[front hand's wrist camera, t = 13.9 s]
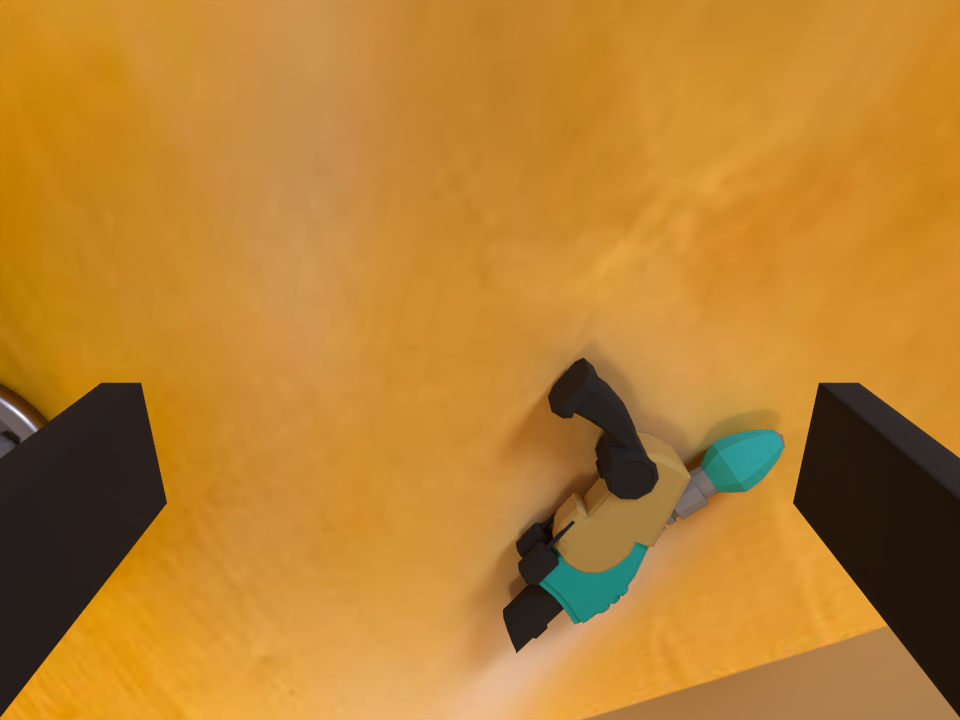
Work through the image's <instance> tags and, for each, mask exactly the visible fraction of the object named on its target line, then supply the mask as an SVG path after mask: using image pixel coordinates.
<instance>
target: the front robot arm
mask: <svg viewBox="0 0 960 720" xmlns="http://www.w3.org/2000/svg"><path fill="white" fill-rule="evenodd" d="M166 504H167V501H166V496H165V492H164V487H163V483H162V478H161V473H160V469H159V464H158V459H157V455H156V450H155V445H154V441H153V436H152V432H151V427H150V422H149V418H148V413H147V408H146V404H145V399H144V395H143V390H142V385H141V383H101V384H99V385H98V386H97V387H95V388H94V389H92V390H91V391H90V392H88V393H87V394H86V395H84V396H83V397H82V398H80V399H79V400H78V401H76V402H75V403H74V404H72V405H71V406H70V407H68V408H67V409H66V410H64V411H63V412H62V413H60V414H59V415H58V416H56V417H55V418H54V419H52V420H51V421H50V422H48V421H47V420H46V419H45V417H44V416H43V415H42V414H41V413H40V412H39V411H38V410H37V409H36V408H35V407H33V406H32V405H31V404H30V403H29V402H28V401H26V400H25V399H24V398H22V397H21V396H19V395H18V394H17V393H15V392H13V391H12V390H10V389H9V388H7V387H5V386H3V385H1V384H0V717H1V716H2V714H3V713H4V712H5V711H6V709H7V708H8V707H9V705H10V704H11V703H12V702H13V700H14V699H15V698H16V696H17V695H18V694H19V693H20V691H21V690H22V689H23V687H24V686H25V685H26V684H27V682H28V681H29V680H30V678H31V677H32V676H33V675H34V673H35V672H36V671H37V669H38V668H39V667H40V666H41V664H42V663H43V662H44V660H45V659H46V658H47V657H48V655H49V654H50V653H51V651H52V650H53V649H54V648H55V646H56V645H57V644H58V642H59V641H60V640H61V639H62V637H63V636H64V635H65V633H66V632H67V631H68V630H69V628H70V627H71V626H72V624H73V623H74V622H75V621H76V619H77V618H78V617H79V615H80V614H81V613H82V612H83V610H84V609H85V608H86V606H87V605H88V604H89V603H90V601H91V600H92V599H93V597H94V596H95V595H96V594H97V592H98V591H99V590H100V588H101V587H102V586H103V585H104V583H105V582H106V581H107V579H108V578H109V577H110V576H111V574H112V573H113V572H114V570H115V569H116V568H117V567H118V565H119V564H120V563H121V561H122V560H123V559H124V558H125V556H126V555H127V554H128V552H129V551H130V550H131V549H132V547H133V546H134V545H135V543H136V542H137V541H138V540H139V538H140V537H141V536H142V534H143V533H144V532H145V531H146V529H147V528H148V527H149V525H150V524H151V523H152V522H153V520H154V519H155V518H156V516H157V515H158V514H159V513H160V511H161V510H162V509H163V507H164V506H165V505H166ZM793 504H794V505H795V506H796V507H797V509H798V510H799V511H800V513H801V514H802V515H803V516H804V518H805V519H806V520H807V522H808V523H809V524H810V525H811V527H812V528H813V529H814V531H815V532H816V533H817V534H818V536H819V537H820V538H821V540H822V541H823V542H824V543H825V545H826V546H827V547H828V549H829V550H830V551H831V552H832V554H833V555H834V556H835V558H836V559H837V560H838V561H839V563H840V564H841V565H842V567H843V568H844V569H845V570H846V572H847V573H848V574H849V576H850V577H851V578H852V579H853V581H854V582H855V583H856V585H857V586H858V587H859V588H860V590H861V591H862V592H863V594H864V595H865V596H866V597H867V599H868V600H869V601H870V603H871V604H872V605H873V606H874V608H875V609H876V610H877V612H878V613H879V614H880V615H881V617H882V618H883V619H884V621H885V622H886V623H887V624H888V626H889V627H890V628H891V630H892V631H893V632H894V633H895V635H896V636H897V637H898V638H899V640H900V641H901V642H902V644H903V645H904V646H905V648H906V649H907V650H908V651H909V653H910V654H911V655H912V657H913V658H914V659H915V660H916V662H917V663H918V664H919V666H920V667H921V668H922V669H923V671H924V672H925V673H926V675H927V676H928V677H929V678H930V680H931V681H932V682H933V684H934V685H935V686H936V687H937V689H938V690H939V691H940V692H941V694H942V695H943V696H944V698H945V699H946V700H947V702H948V703H949V704H950V705H951V707H952V708H953V709H954V711H955V712H956V713H957V714H958V716H959V717H960V458H959V457H957V456H956V455H955V454H953V453H952V452H951V451H949V450H948V449H947V448H945V447H944V446H943V445H941V444H940V443H939V442H937V441H936V440H935V439H933V438H932V437H931V436H929V435H928V434H927V433H925V432H924V431H923V430H921V429H920V428H918V427H917V426H916V425H914V424H913V423H912V422H910V421H909V420H908V419H906V418H905V417H904V416H902V415H901V414H900V413H898V412H897V411H896V410H894V409H893V408H892V407H890V406H889V405H888V404H886V403H885V402H884V401H882V400H881V399H880V398H878V397H877V396H876V395H874V394H873V393H872V392H870V391H869V390H868V389H866V388H865V387H863V386H862V385H861V384H859V383H819V385H818V390H817V395H816V399H815V404H814V408H813V413H812V418H811V422H810V427H809V432H808V436H807V441H806V445H805V450H804V455H803V459H802V464H801V469H800V473H799V478H798V483H797V487H796V492H795V496H794V501H793Z"/></svg>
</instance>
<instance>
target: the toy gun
mask: <svg viewBox="0 0 960 720" xmlns="http://www.w3.org/2000/svg"><path fill="white" fill-rule="evenodd" d="M548 399H549V403H550V407H551V410H552V412H553V413H555V414H556V415H558V416H560V417H562V418H572V417H573V414H574V413H576V414H578V415H580V416H582V417H584V418H586V419H588V420H590V421H591V422H593V423H594V424H596V425H597V426H599V427H600V428H602V429H603V430H604V435H603V436H601V438H600V440H599V442H598V444H597V446H596V448H595V451H596V455H597V459H598V460H597V461H596V465H597V469H598V472H599V475H600V477H599V479H598V480H597V481H596V482H595V484H594V485H593V486H592V487H591V488H590V490H589V491H588V492H587V493H586V495H585V496H583V497H581V496H580V493H575V492H573V494H572V495H571V496H570V497H569V498H568V499H567V500H566V502H565V503H564V504H563V505H562V506H561V507H560V508H559V509H558V510H557V511H556V512H555V513H554V514H553V515H552V516H551V517H550V518H549V519H548V520H547V521H546V522H545V523H544V524H541V523H538V522H537V523H535V524H534V525H533V526H532V527H531V528H530V529H529V530H528V531H527V532H526V533H525V534H524V535H523V536H522V537H521V538H520V539H519V540H518V541H517V542H516V547H517V551H518V553H519V554H520V556H521V557H522V558H523V559H522V560H521V561H520V562H519V563H518V567H519V572H520V574H521V575H522V577H523V578H524V579H525V582H526V583H527V584H529V583H530V584H529V585H528V586H527V587H526V588H525V589H524V590H523V591H522V592H521V593H520V594H519V595H518V596H517V597H516V598H515V599H514V600H513V601H511V602H510V603H509V604H508V605H507V606H506V607H505V608H504V609H503V618H504V621H505V624H506V627H507V631H508V633H509V636H510V638H511V641H512V643H513V646H514V648H515V650H516V653H517V652H518V651H519V650H521V649H522V648H523V647H524V646H525V645H526V644H527V643H528V642H529V641H530V640H531V639H532V638H537V637H539V636H540V635H541V634H542V633H543V632H544V631H545V630H546V629H547V624H548V623H549V622H550V621H551V620H552V619H553V618H554V617H556V616H557V615H558V614H559V613H560V612H561V611H562V610H563V609H565V611H566V612H567V614H568V615H569V617H570V618H571V620H572V621H573V623H574V624H577V623H579V622H582V623H585V622H586V621H588V620H589V619H590V618H592V617H593V616H595V615H596V614H597V613H603V612H605V611H606V610H608V609H609V607H610V604H615V603H616V602H617V601H618V600H619V599H620V596H624V595H625V594H626V593H627V591H628V585H629V584H630V582H631V581H632V580H633V578H634V577H635V575H636V573H637V571H638V569H639V567H640V564H641V562H642V560H643V558H644V556H645V554H646V552H647V550H648V547H653V546H654V545H655V543H656V541H657V539H658V538H659V537H660V534H661V532H662V531H663V530H665V527H664V526H665V524H666V523H668V524H669V525H671V524H672V523H674V522H676V519H675V518H677V517H679V516H680V517H681V518H682V519H684V518H686V517H687V516H689V515H691V514H693V513H694V512H696V511H698V510H700V509H701V508H703V507H705V506H706V505H708V504H709V503H708V502H707V500H706V499H707V498H709V497H710V496H712V495H714V494H716V493H717V492H732V493H734V492H746V491H748V490H749V489H751V488H752V487H754V486H755V485H756V484H758V483H759V482H760V481H761V480H762V479H763V478H764V477H765V476H766V475H767V473H768V472H769V471H770V469H771V468H772V467H773V466H774V464H775V463H776V462H777V460H778V459H779V457H780V455H781V453H782V450H783V448H784V446H785V445H784V440H783V435H781V434H779V433H778V432H776V431H774V430H753V431H748V432H743V433H737V434H733V435H730V436H727V437H725V438H722V439H720V440H718V441H716V442H714V443H713V444H712V445H711V446H710V448H709V450H708V451H707V453H706V455H705V457H704V459H703V461H702V463H701V465H700V466H699V467H697V468H696V469H694V470H692V471H690V472H688V471H687V469H686V467H685V466H684V464H683V462H682V460H681V459H680V457H679V455H678V454H677V453H676V452H675V450H674V449H673V448H672V447H671V446H670V445H669V444H667V443H666V442H664V441H663V440H661V439H659V438H657V437H655V436H653V435H651V434H646V433H639V432H636V430H635V426H634V424H633V422H632V420H631V417H630V415H629V413H628V411H627V409H626V407H625V405H624V403H623V402H622V400H621V399H620V398H619V397H618V396H617V395H616V393H615V392H614V391H613V390H612V389H611V387H610V386H609V385H608V384H607V383H606V382H604V381H603V380H602V379H600V378H599V377H598V376H597V374H596V372H595V369H594V367H593V366H592V365H591V364H590V363H589V362H588V361H587V360H586V359H584V358H582V359H580V360H578V361H575V362H574V364H573V365H572V366H571V367H570V368H569V369H568V370H567V371H566V372H565V373H564V375H563V376H562V377H561V378H560V379H559V380H558V381H557V382H556V383H555V384H554V385H553V387H552V389H551V392H550V394H549V396H548ZM553 521H554V525H553V531H551V530H550V529H549V528H548V526H549V525H550V524H551V523H552V522H553Z"/></svg>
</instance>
